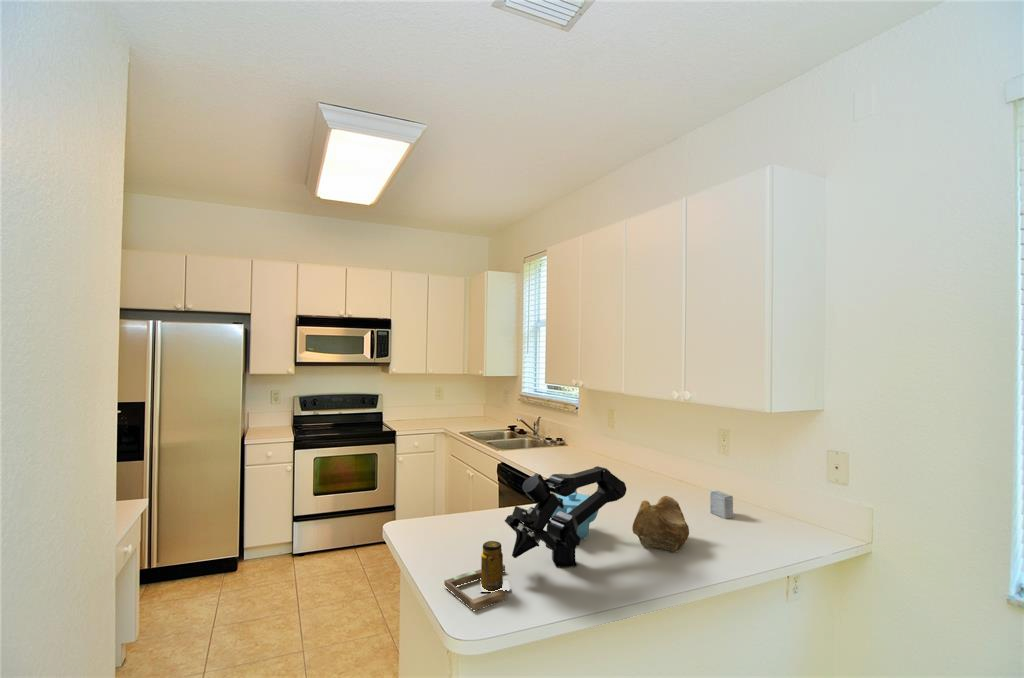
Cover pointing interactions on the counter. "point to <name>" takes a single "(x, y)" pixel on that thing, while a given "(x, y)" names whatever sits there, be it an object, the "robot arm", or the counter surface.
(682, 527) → the rough brown rock
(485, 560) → the condiment
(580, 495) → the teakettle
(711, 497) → the medicine box
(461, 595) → the rail bay
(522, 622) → the counter surface
